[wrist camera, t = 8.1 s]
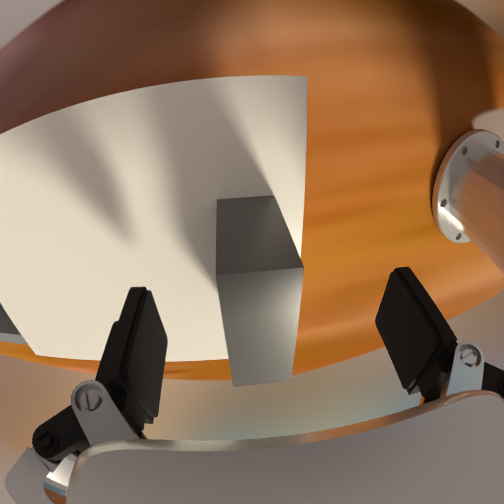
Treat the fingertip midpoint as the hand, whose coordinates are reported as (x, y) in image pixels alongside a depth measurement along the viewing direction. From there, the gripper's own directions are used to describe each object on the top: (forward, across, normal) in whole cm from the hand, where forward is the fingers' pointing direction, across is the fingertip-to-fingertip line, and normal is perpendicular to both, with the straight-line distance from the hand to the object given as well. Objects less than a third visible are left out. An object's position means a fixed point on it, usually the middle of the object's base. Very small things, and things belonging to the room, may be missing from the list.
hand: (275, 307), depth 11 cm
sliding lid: (+4, +8, 0) cm, 9 cm away
